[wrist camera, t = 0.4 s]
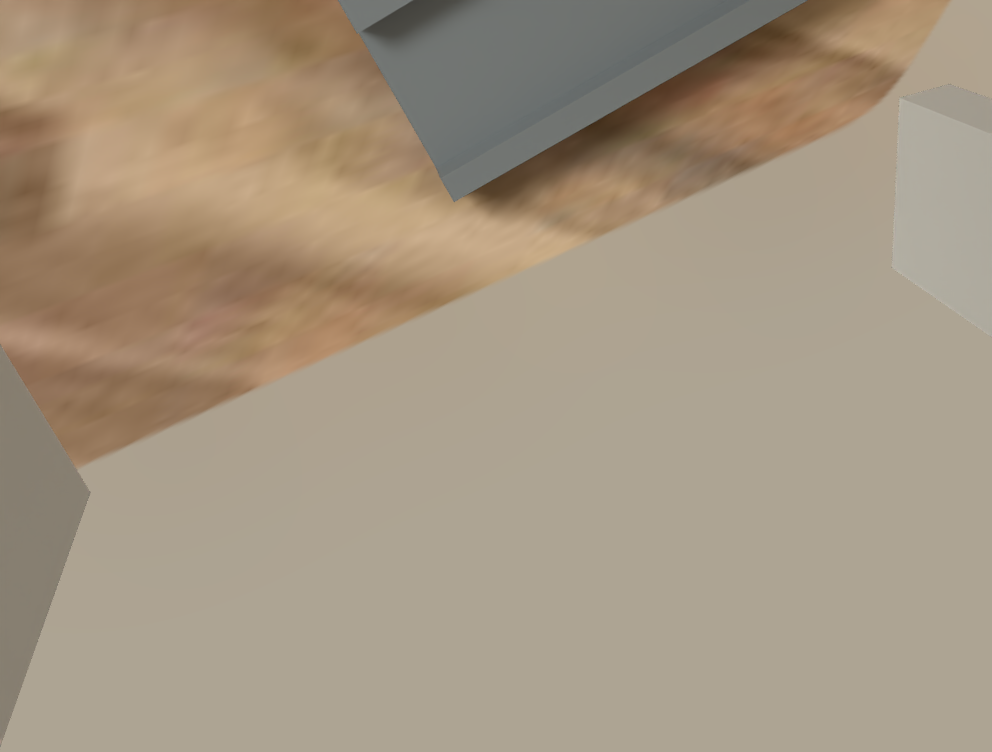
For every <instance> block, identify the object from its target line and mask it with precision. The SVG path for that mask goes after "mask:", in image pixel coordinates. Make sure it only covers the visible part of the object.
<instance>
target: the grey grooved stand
mask: <svg viewBox="0 0 992 752" xmlns="http://www.w3.org/2000/svg"><path fill="white" fill-rule="evenodd" d="M338 1H339V3H340V5H341V6H342V8H343V10H344V12H345V13H346V15H347V17H348V19H349V20H350V22H351V24H352V26H353V27H354V29H355V31H356V33H357V34H358V33H359V34H360V36H361V38H362V40H363V41H364V43H365V45H366V46H367V48H368V50H369V52H370V53H371V55H372V57H373V59H374V60H375V62H376V64H377V66H378V67H379V69H380V71H381V73H382V74H383V76H384V78H385V80H386V81H387V83H388V85H389V87H390V88H391V90H392V92H393V93H394V95H395V97H396V99H397V100H398V102H399V104H400V106H401V107H402V109H403V111H404V113H405V114H406V116H407V118H408V120H409V121H410V123H411V125H412V127H413V128H414V130H415V132H416V134H417V135H418V137H419V139H420V140H421V142H422V144H423V146H424V147H425V149H426V151H427V153H428V154H429V156H430V158H431V160H432V161H433V163H434V165H435V167H436V169H437V171H438V174H439V176H440V178H441V180H442V182H443V184H444V185H445V187H446V189H447V191H448V192H449V194H450V196H451V198H452V199H453V201H454V202H455V201H457V200H458V199H460V198H462V197H464V196H465V195H467V194H469V193H471V192H472V191H474V190H476V189H478V188H479V187H481V186H483V185H485V184H486V183H488V182H490V181H492V180H493V179H495V178H497V177H499V176H500V175H502V174H504V173H506V172H508V171H509V170H511V169H513V168H515V167H516V166H518V165H520V164H522V163H523V162H525V161H527V160H529V159H530V158H532V157H534V156H536V155H537V154H539V153H541V152H543V151H544V150H546V149H548V148H550V147H551V146H553V145H555V144H557V143H558V142H560V141H562V140H564V139H565V138H567V137H569V136H571V135H572V134H574V133H576V132H578V131H579V130H581V129H583V128H585V127H586V126H588V125H590V124H592V123H593V122H595V121H597V120H599V119H600V118H602V117H604V116H606V115H607V114H609V113H611V112H613V111H614V110H616V109H618V108H620V107H621V106H623V105H625V104H627V103H628V102H630V101H632V100H634V99H635V98H637V97H639V96H641V95H642V94H644V93H646V92H648V91H649V90H651V89H653V88H655V87H657V86H658V85H660V84H662V83H664V82H665V81H667V80H669V79H671V78H672V77H674V76H676V75H678V74H679V73H681V72H683V71H685V70H686V69H688V68H690V67H692V66H693V65H695V64H697V63H699V62H700V61H702V60H704V59H706V58H707V57H709V56H711V55H713V54H714V53H716V52H718V51H720V50H721V49H723V48H725V47H727V46H728V45H730V44H732V43H734V42H735V41H737V40H739V39H741V38H742V37H744V36H746V35H748V34H749V33H751V32H753V31H755V30H756V29H758V28H760V27H762V26H763V25H765V24H767V23H769V22H770V21H772V20H774V19H776V18H777V17H779V16H781V15H783V14H784V13H786V12H788V11H790V10H791V9H793V8H795V7H797V6H798V5H800V4H802V3H804V2H805V1H807V0H338Z"/></svg>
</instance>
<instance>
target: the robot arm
mask: <svg viewBox="0 0 992 752" xmlns="http://www.w3.org/2000/svg"><path fill="white" fill-rule="evenodd" d="M899 100H900V101H899V122H898V143H897V166H896V187H895V211H894V233H893V254H892V268H893V269H894V270H896V271H898V272H899V273H900V274H901V275H903V276H904V277H906V278H907V279H909V280H910V281H912V282H913V283H914V284H916V285H917V286H919V287H920V288H922V289H923V290H925V291H926V292H927V293H929V294H930V295H932V296H933V297H935V298H936V299H937V300H939V301H940V302H942V303H943V304H945V305H946V306H948V307H949V308H950V309H952V310H953V311H955V312H956V313H958V314H959V315H960V316H962V317H963V318H965V319H966V320H968V321H969V322H970V323H972V324H973V325H975V326H976V327H978V328H979V329H981V330H982V331H984V332H985V333H986V334H988V335H989V336H991V337H992V99H991V98H988V97H985V96H982V95H980V94H977V93H974V92H971V91H968V90H965V89H962V88H959V87H956V86H954V85H951V84H948V85H944V86H941V87H937V88H933V89H930V90H926V91H922V92H918V93H915V94H911V95H908V96H904V97H900V99H899ZM89 495H90V491H89V489H88V487H87V486H86V485H85V483H84V481H83V479H82V478H81V476H80V474H79V473H78V471H77V469H76V468H75V466H74V465H73V463H72V461H71V460H70V458H69V456H68V455H67V453H66V451H65V450H64V448H63V447H62V445H61V443H60V442H59V440H58V438H57V437H56V435H55V433H54V432H53V430H52V428H51V427H50V425H49V424H48V422H47V420H46V419H45V417H44V415H43V414H42V412H41V410H40V409H39V407H38V406H37V404H36V402H35V401H34V399H33V397H32V396H31V394H30V392H29V391H28V389H27V388H26V386H25V384H24V383H23V381H22V379H21V378H20V376H19V374H18V373H17V371H16V369H15V368H14V366H13V365H12V363H11V361H10V360H9V358H8V356H7V355H6V353H5V351H4V350H3V348H2V347H1V345H0V746H1V743H2V740H3V738H4V735H5V732H6V729H7V726H8V723H9V720H10V718H11V715H12V712H13V709H14V706H15V704H16V701H17V698H18V695H19V692H20V690H21V687H22V684H23V681H24V678H25V676H26V673H27V670H28V667H29V664H30V661H31V659H32V656H33V653H34V650H35V647H36V644H37V642H38V639H39V636H40V633H41V630H42V628H43V625H44V622H45V619H46V616H47V613H48V610H49V608H50V605H51V602H52V599H53V596H54V594H55V591H56V588H57V585H58V583H59V580H60V577H61V574H62V571H63V568H64V566H65V562H66V560H67V557H68V554H69V551H70V549H71V546H72V543H73V540H74V537H75V535H76V532H77V529H78V526H79V523H80V521H81V518H82V515H83V512H84V509H85V506H86V504H87V501H88V498H89Z"/></svg>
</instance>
